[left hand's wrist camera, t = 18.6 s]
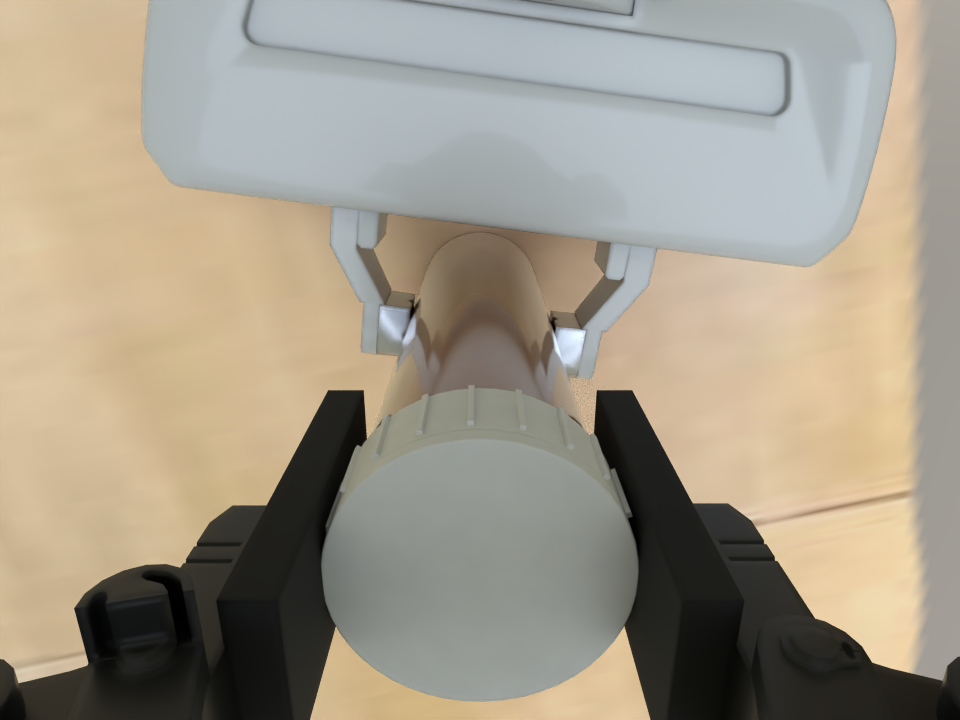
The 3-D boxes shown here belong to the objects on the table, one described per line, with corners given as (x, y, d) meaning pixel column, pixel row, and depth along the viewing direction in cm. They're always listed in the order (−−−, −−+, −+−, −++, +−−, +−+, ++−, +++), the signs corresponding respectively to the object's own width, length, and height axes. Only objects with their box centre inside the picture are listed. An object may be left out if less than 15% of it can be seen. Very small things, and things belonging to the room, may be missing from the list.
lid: (594, 632, 13) (613, 716, 12) (337, 611, 13) (313, 692, 11) (642, 397, 12) (673, 452, 10) (344, 370, 11) (318, 420, 10)
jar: (400, 291, 28) (282, 566, 11) (476, 207, 27) (469, 374, 10) (483, 362, 29) (488, 707, 12) (559, 284, 28) (679, 551, 11)
